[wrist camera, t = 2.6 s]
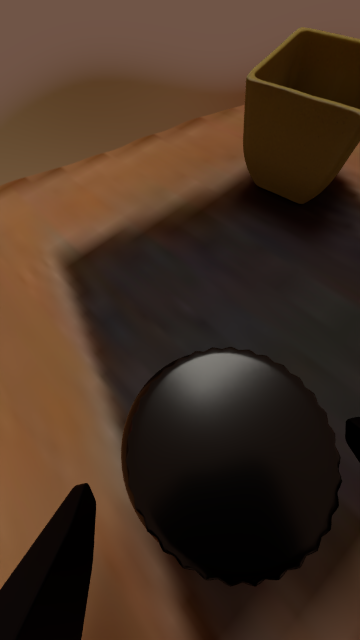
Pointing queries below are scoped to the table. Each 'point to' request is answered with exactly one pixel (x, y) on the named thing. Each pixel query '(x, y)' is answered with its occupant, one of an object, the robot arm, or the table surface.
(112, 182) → the table surface
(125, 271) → the table surface
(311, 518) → the supplement bottle
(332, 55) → the flower pot
